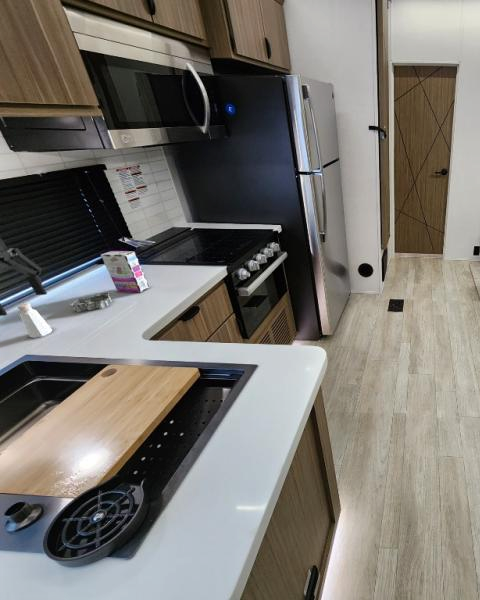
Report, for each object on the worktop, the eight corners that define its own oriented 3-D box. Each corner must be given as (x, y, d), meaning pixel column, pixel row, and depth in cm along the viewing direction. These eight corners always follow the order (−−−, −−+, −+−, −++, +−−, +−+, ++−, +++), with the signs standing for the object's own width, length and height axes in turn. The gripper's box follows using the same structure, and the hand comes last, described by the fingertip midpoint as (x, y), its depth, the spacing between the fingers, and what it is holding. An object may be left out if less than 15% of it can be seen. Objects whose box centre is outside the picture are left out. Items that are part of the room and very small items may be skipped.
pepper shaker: (31, 340, 107) (11, 311, 102) (29, 334, 110) (10, 305, 105) (53, 333, 111) (36, 304, 105) (51, 327, 114) (34, 299, 109)
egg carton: (114, 300, 131) (110, 290, 129) (105, 309, 125) (101, 299, 123) (82, 303, 128) (77, 294, 126) (71, 313, 122) (66, 303, 120)
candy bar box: (150, 287, 141) (135, 251, 133) (141, 292, 136) (125, 255, 128) (126, 286, 142) (110, 250, 134) (116, 291, 137) (99, 254, 130)
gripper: (-55, 254, 84) (-5, 324, 94) (34, 227, 106) (67, 286, 116) (-86, 255, 84) (-33, 326, 94) (9, 228, 106) (45, 287, 116)
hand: (23, 304), depth 105 cm, fingers open, 13 cm apart
